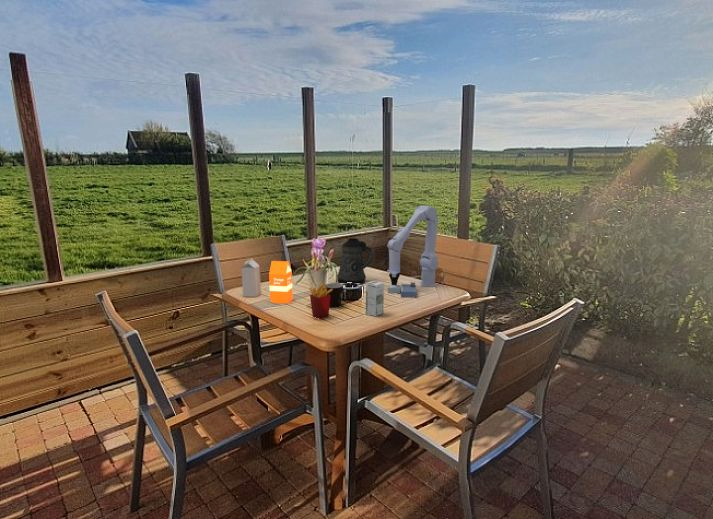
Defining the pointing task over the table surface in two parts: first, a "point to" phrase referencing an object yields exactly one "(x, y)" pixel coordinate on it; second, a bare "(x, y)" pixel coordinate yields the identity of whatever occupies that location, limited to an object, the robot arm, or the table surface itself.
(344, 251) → the beer stein
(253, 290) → the milk carton
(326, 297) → the french fries
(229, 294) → the table surface
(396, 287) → the light blue box
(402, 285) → the network switch box
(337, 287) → the coffee mug
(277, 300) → the orange juice
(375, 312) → the syrup box
